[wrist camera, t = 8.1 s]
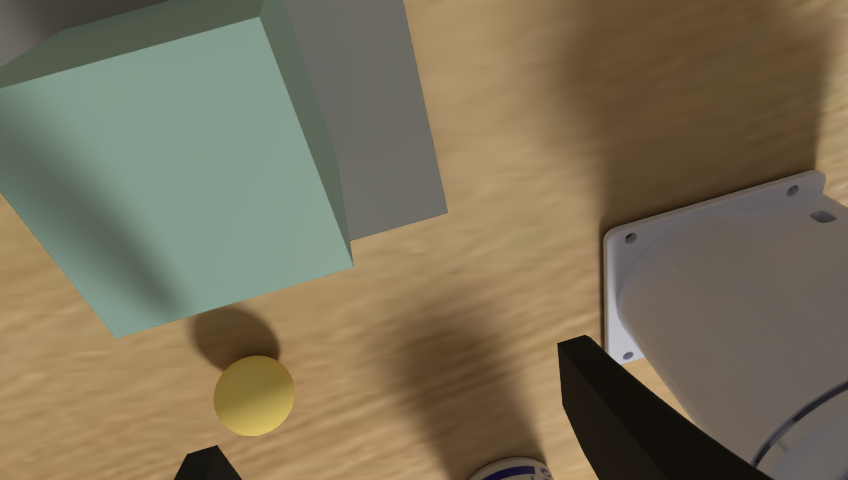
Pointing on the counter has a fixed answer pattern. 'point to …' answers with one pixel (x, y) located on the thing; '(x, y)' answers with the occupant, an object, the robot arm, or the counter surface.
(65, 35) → the teal cover
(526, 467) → the energy drink
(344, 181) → the charcoal mat
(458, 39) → the counter surface
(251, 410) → the yellow ball
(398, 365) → the counter surface
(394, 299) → the counter surface
